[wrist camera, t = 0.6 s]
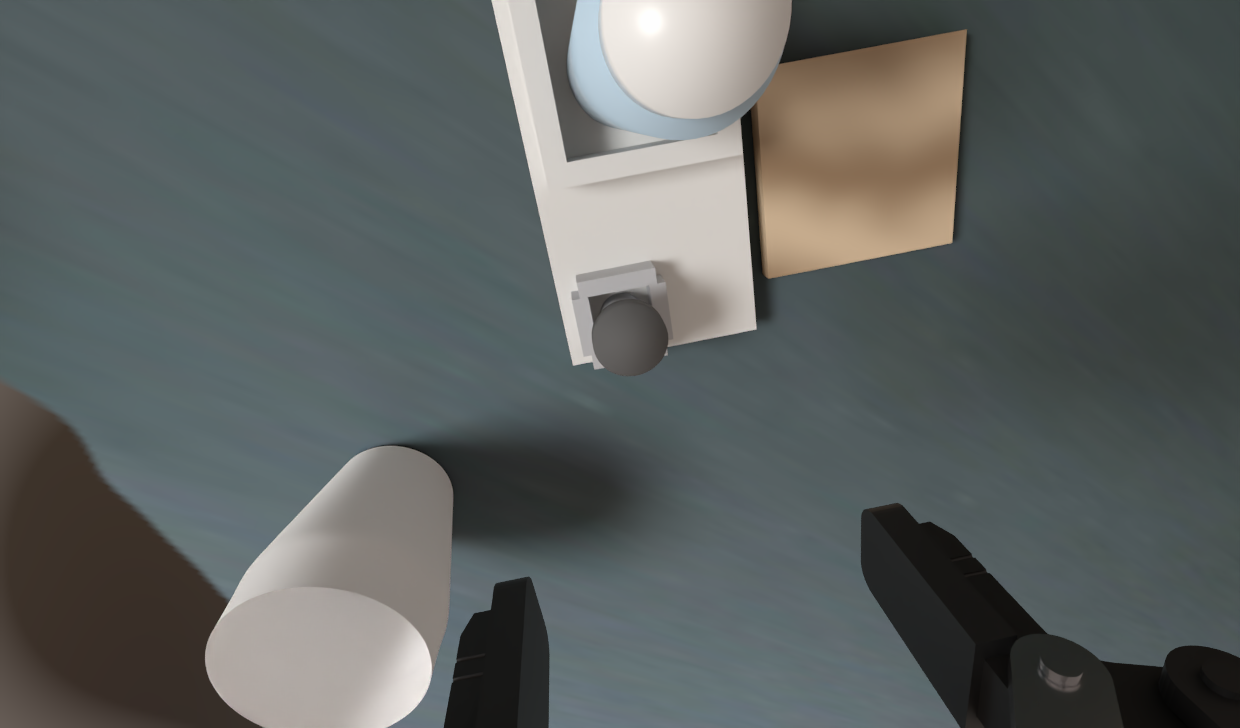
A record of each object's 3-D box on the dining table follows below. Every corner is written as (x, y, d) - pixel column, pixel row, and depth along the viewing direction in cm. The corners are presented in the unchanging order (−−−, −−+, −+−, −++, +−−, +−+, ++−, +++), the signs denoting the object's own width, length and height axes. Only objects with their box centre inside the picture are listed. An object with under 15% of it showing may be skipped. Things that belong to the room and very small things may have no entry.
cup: (503, 475, 35) (478, 642, 24) (423, 573, 37) (367, 766, 26) (365, 397, 32) (264, 546, 21) (288, 509, 34) (160, 695, 23)
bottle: (555, 12, 24) (555, -113, 11) (671, -10, 24) (810, -157, 11) (578, 138, 26) (602, 162, 13) (686, 117, 26) (818, 121, 13)
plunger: (582, 288, 29) (586, 312, 25) (649, 275, 29) (663, 298, 25) (594, 350, 30) (600, 382, 26) (659, 338, 30) (673, 368, 26)
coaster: (748, 70, 27) (755, 68, 26) (953, 32, 27) (966, 29, 27) (762, 273, 31) (768, 278, 30) (940, 239, 32) (952, 242, 31)
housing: (488, -26, 25) (476, -50, 21) (716, -67, 25) (743, -98, 21) (572, 354, 32) (574, 385, 28) (748, 320, 32) (772, 346, 29)
